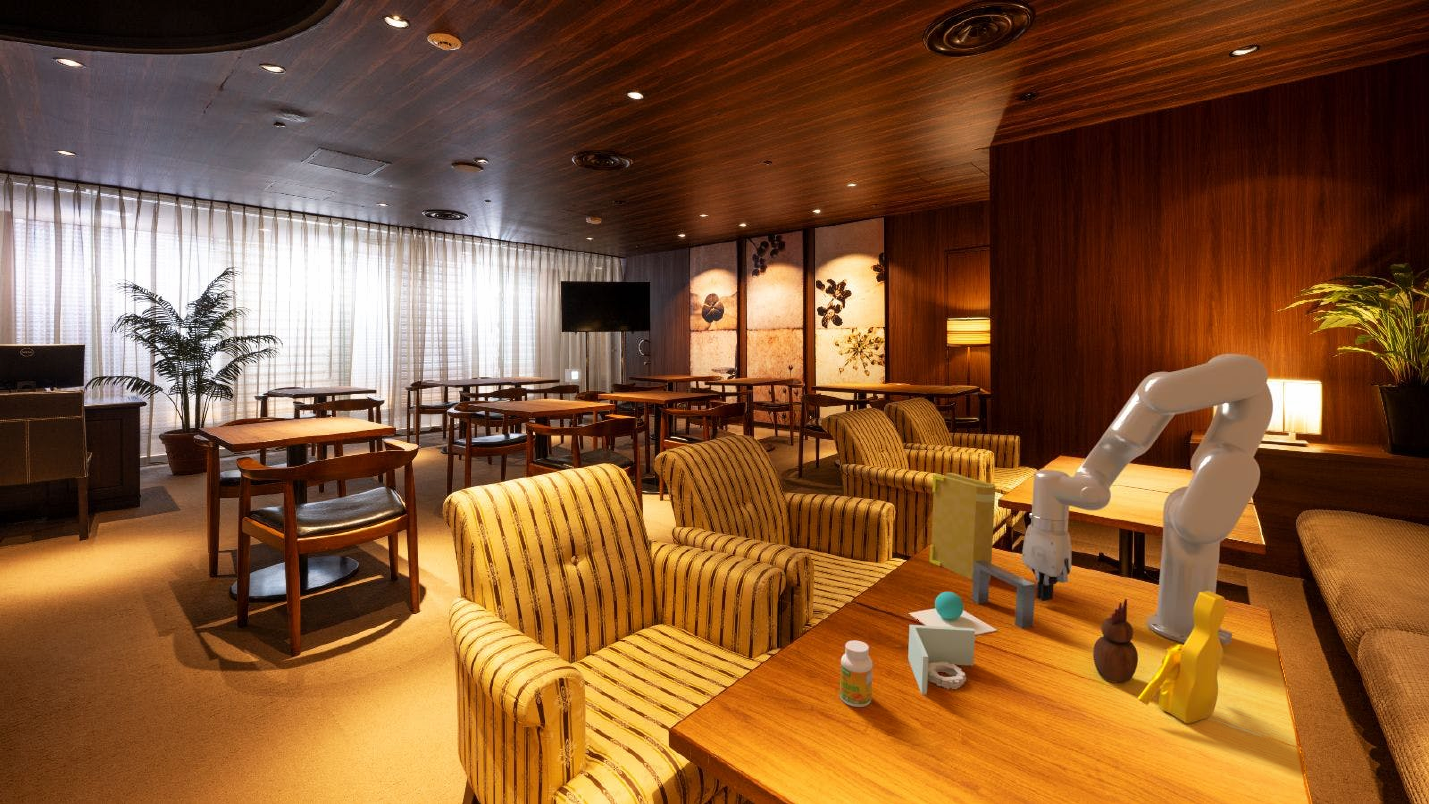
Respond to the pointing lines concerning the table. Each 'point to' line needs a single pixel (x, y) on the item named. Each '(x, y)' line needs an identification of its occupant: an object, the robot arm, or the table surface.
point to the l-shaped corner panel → (940, 654)
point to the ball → (949, 605)
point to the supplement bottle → (856, 674)
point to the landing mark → (952, 621)
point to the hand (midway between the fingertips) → (1044, 598)
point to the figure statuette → (1192, 666)
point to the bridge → (1023, 586)
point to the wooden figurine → (1116, 648)
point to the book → (961, 523)
